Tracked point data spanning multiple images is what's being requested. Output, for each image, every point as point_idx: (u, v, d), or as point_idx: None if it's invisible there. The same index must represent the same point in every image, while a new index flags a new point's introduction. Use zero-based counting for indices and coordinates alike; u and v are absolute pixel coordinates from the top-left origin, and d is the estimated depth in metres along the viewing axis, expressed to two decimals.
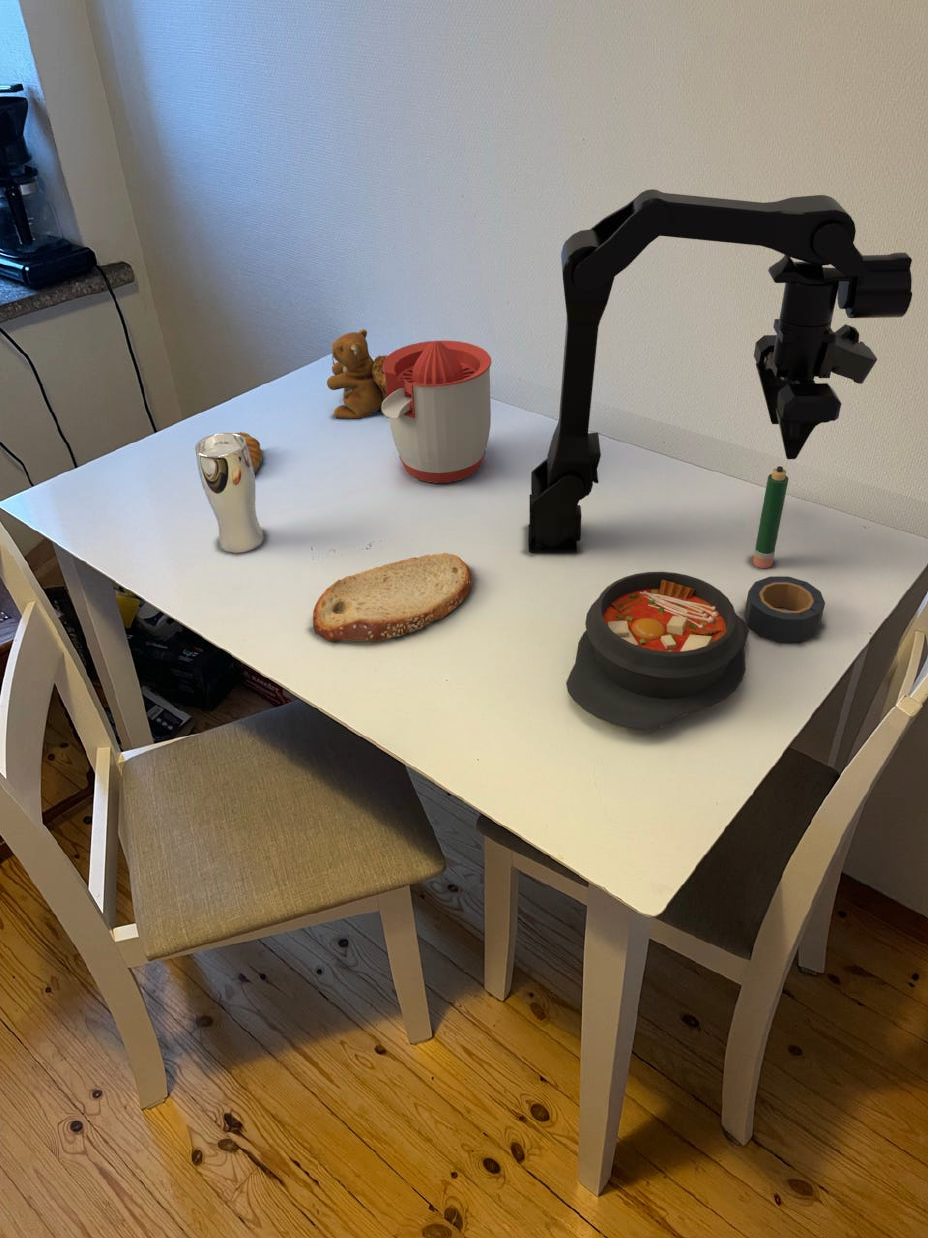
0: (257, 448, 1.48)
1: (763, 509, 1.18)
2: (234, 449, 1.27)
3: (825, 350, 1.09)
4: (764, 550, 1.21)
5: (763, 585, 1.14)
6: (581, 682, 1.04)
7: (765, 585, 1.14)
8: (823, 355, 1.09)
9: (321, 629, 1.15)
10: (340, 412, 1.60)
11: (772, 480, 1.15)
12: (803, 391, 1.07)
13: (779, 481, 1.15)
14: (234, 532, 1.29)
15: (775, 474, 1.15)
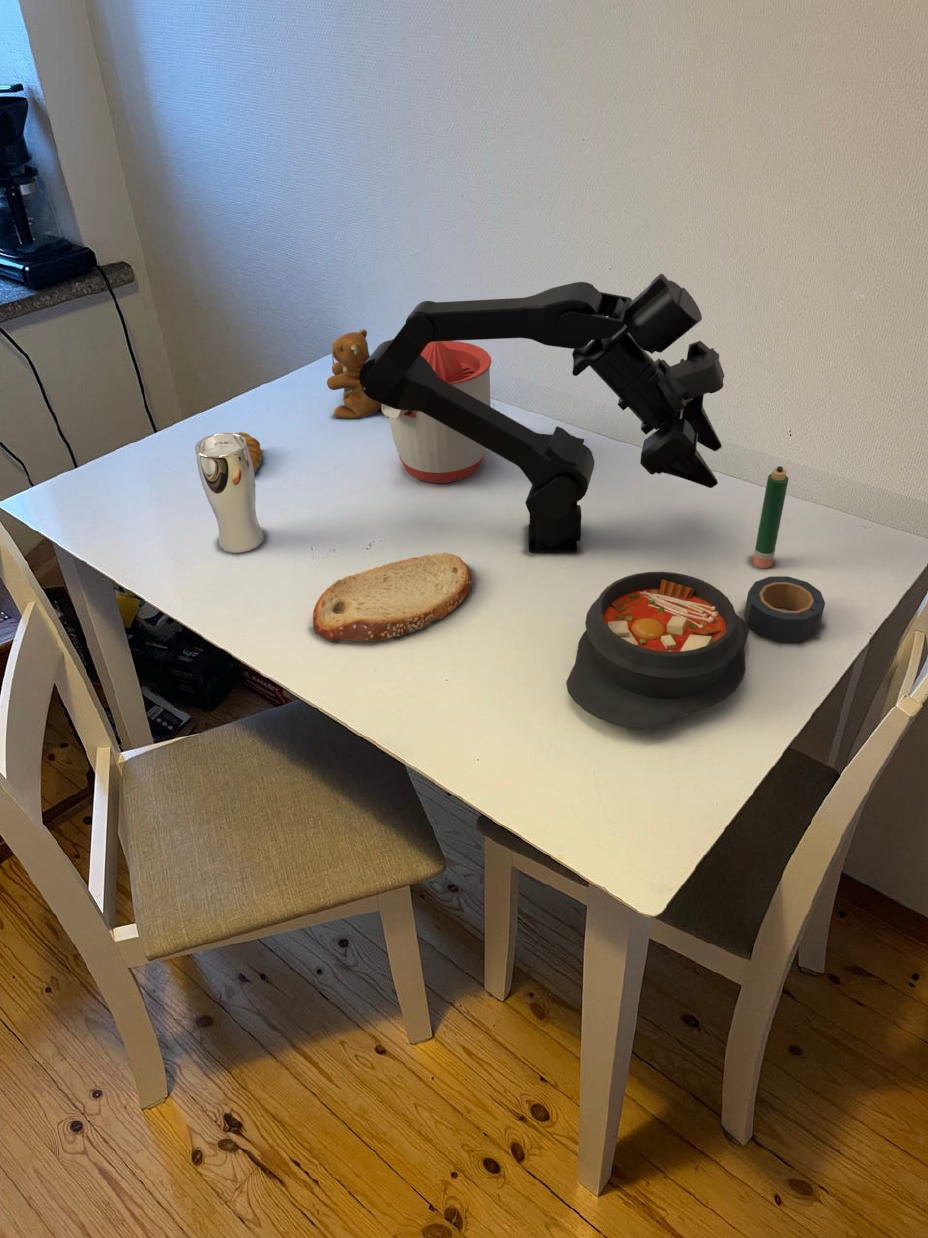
0: (257, 448, 1.48)
1: (763, 509, 1.18)
2: (234, 449, 1.27)
3: None
4: (764, 550, 1.21)
5: (763, 585, 1.14)
6: (581, 682, 1.04)
7: (765, 585, 1.14)
8: None
9: (321, 629, 1.15)
10: (340, 412, 1.60)
11: (772, 480, 1.15)
12: (650, 442, 1.09)
13: (779, 481, 1.15)
14: (234, 532, 1.29)
15: (775, 474, 1.15)
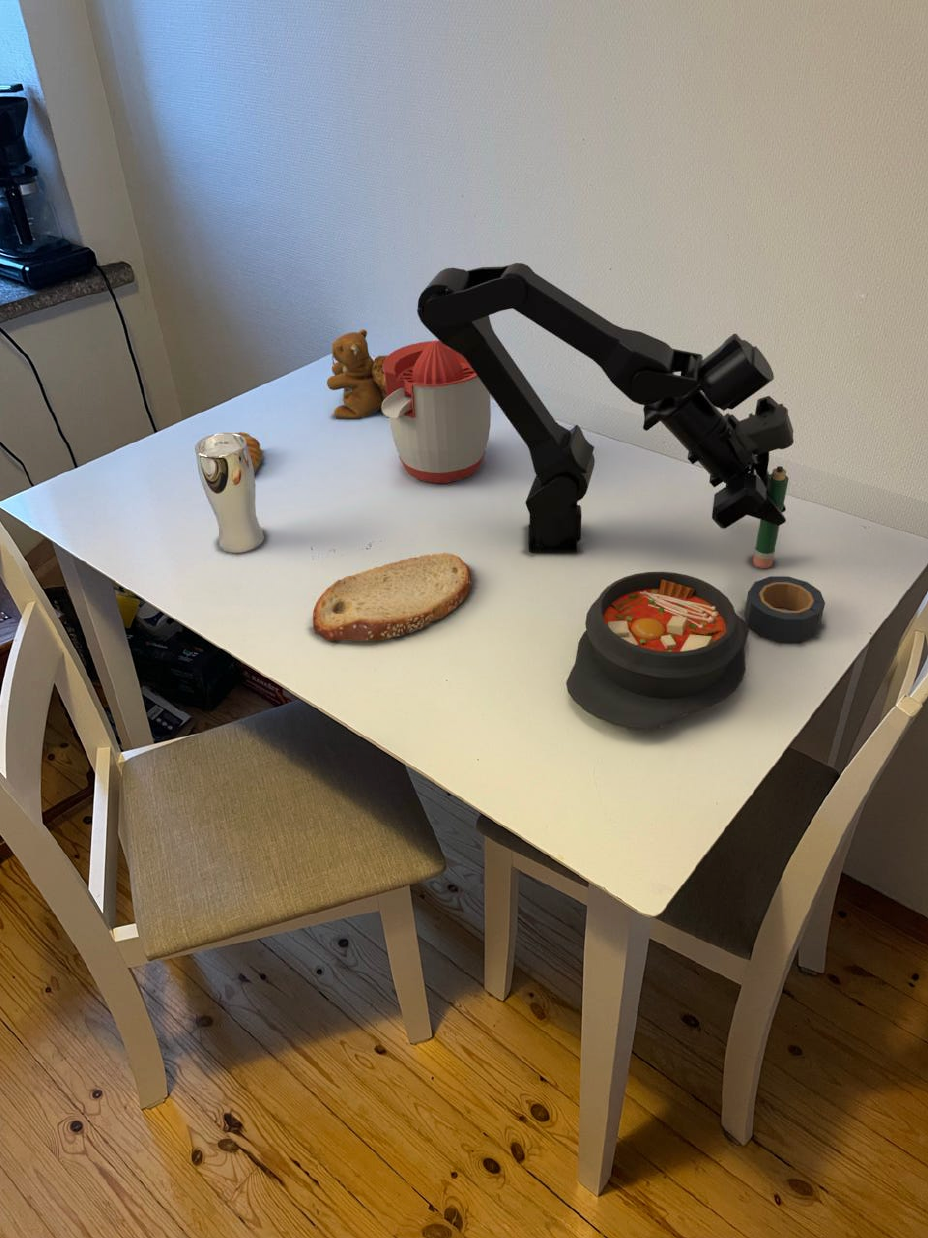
0: (257, 448, 1.48)
1: None
2: (234, 449, 1.27)
3: None
4: (764, 550, 1.21)
5: (763, 585, 1.14)
6: (581, 682, 1.04)
7: (765, 585, 1.14)
8: None
9: (321, 629, 1.15)
10: (340, 412, 1.60)
11: (772, 480, 1.15)
12: (722, 497, 1.11)
13: (779, 481, 1.15)
14: (234, 532, 1.29)
15: (775, 474, 1.15)
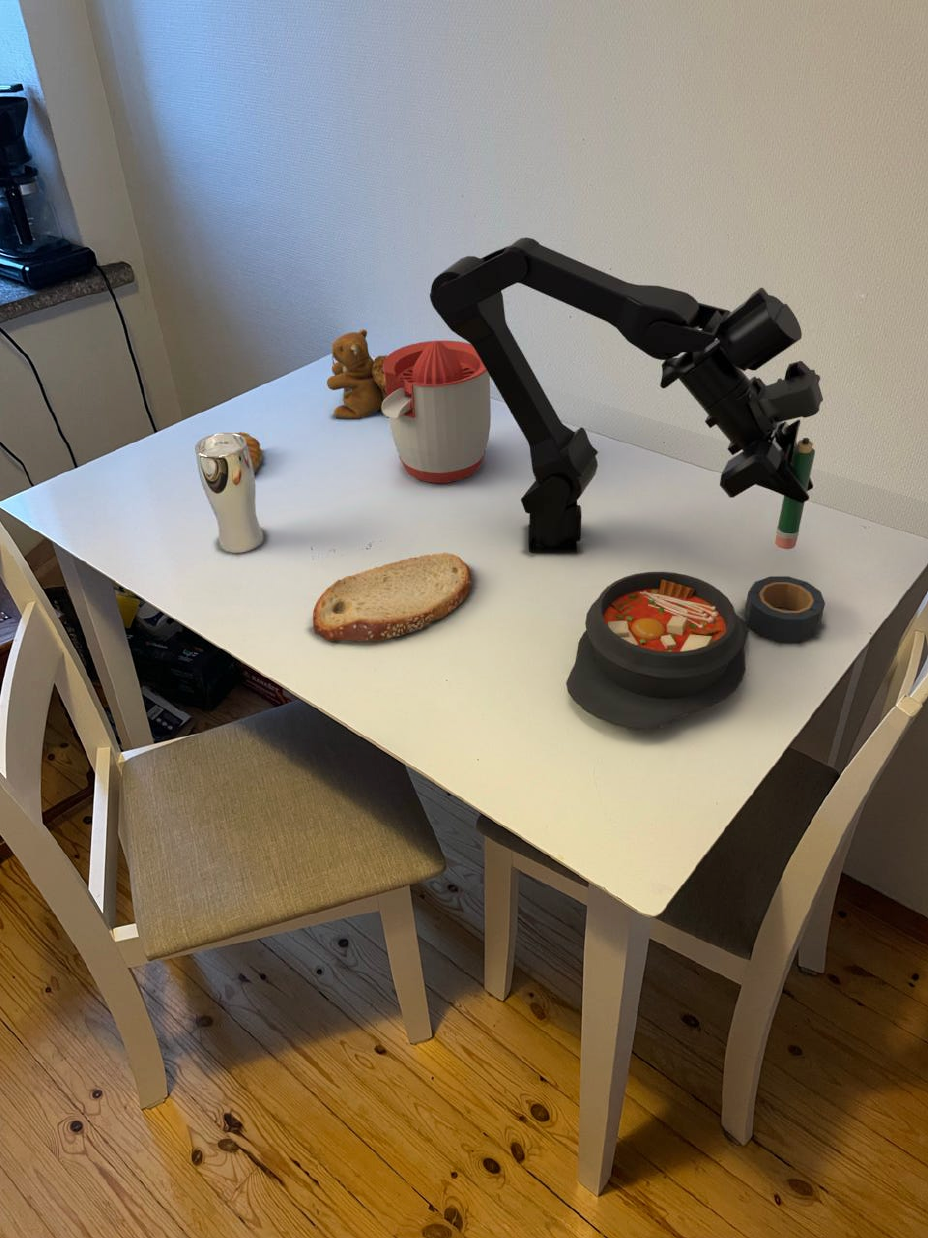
0: (257, 448, 1.48)
1: None
2: (234, 449, 1.27)
3: None
4: (786, 529, 1.13)
5: (763, 585, 1.14)
6: (581, 682, 1.04)
7: (765, 585, 1.14)
8: None
9: (321, 629, 1.15)
10: (340, 412, 1.60)
11: (796, 452, 1.07)
12: (733, 463, 1.04)
13: (803, 454, 1.07)
14: (234, 532, 1.29)
15: (800, 446, 1.06)
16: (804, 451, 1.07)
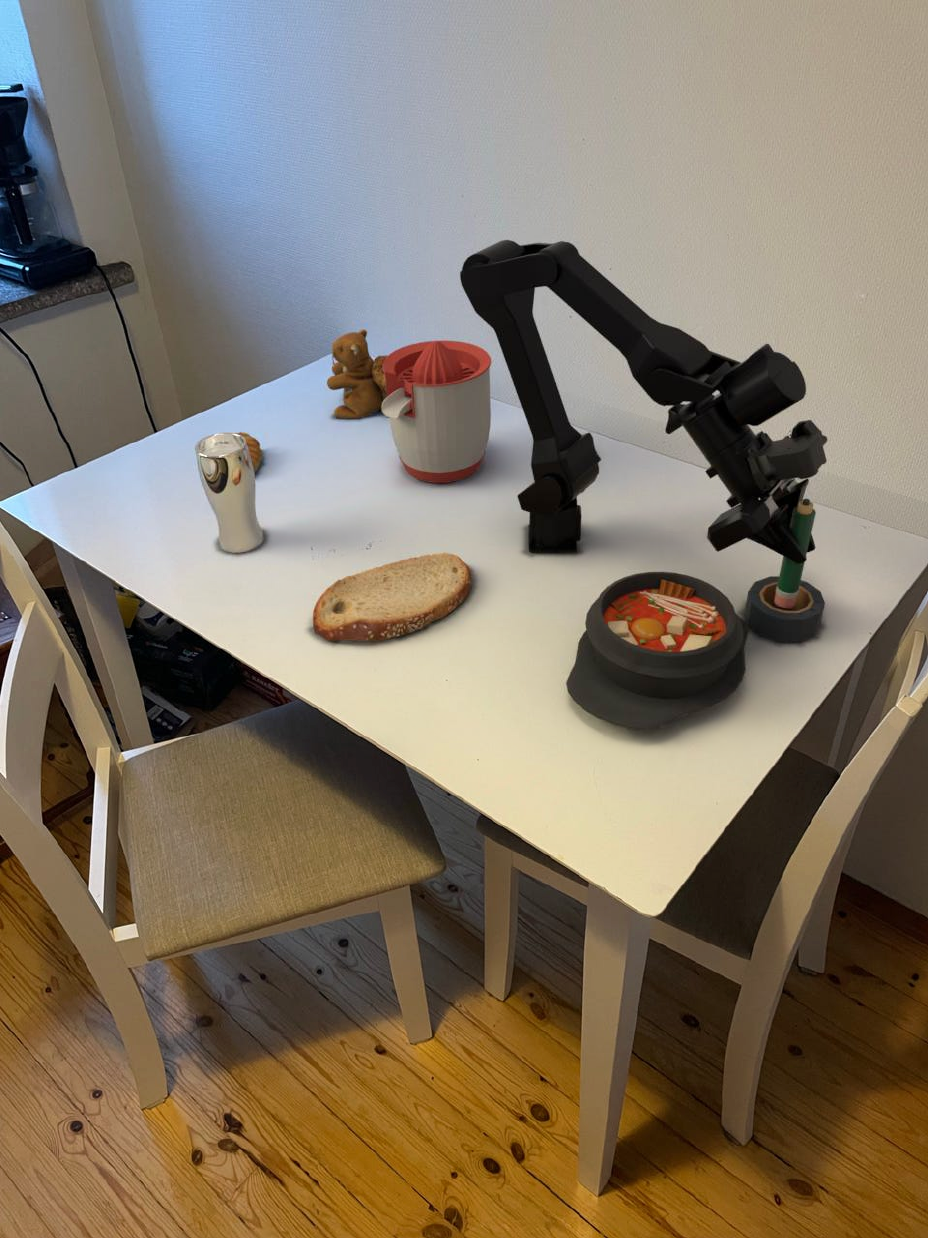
0: (257, 448, 1.48)
1: None
2: (234, 449, 1.27)
3: None
4: (783, 588, 1.10)
5: (763, 585, 1.14)
6: (581, 682, 1.04)
7: (765, 585, 1.14)
8: None
9: (321, 629, 1.15)
10: (340, 412, 1.60)
11: (795, 512, 1.05)
12: (721, 518, 1.03)
13: (802, 515, 1.04)
14: (234, 532, 1.29)
15: (799, 506, 1.04)
16: (803, 512, 1.04)
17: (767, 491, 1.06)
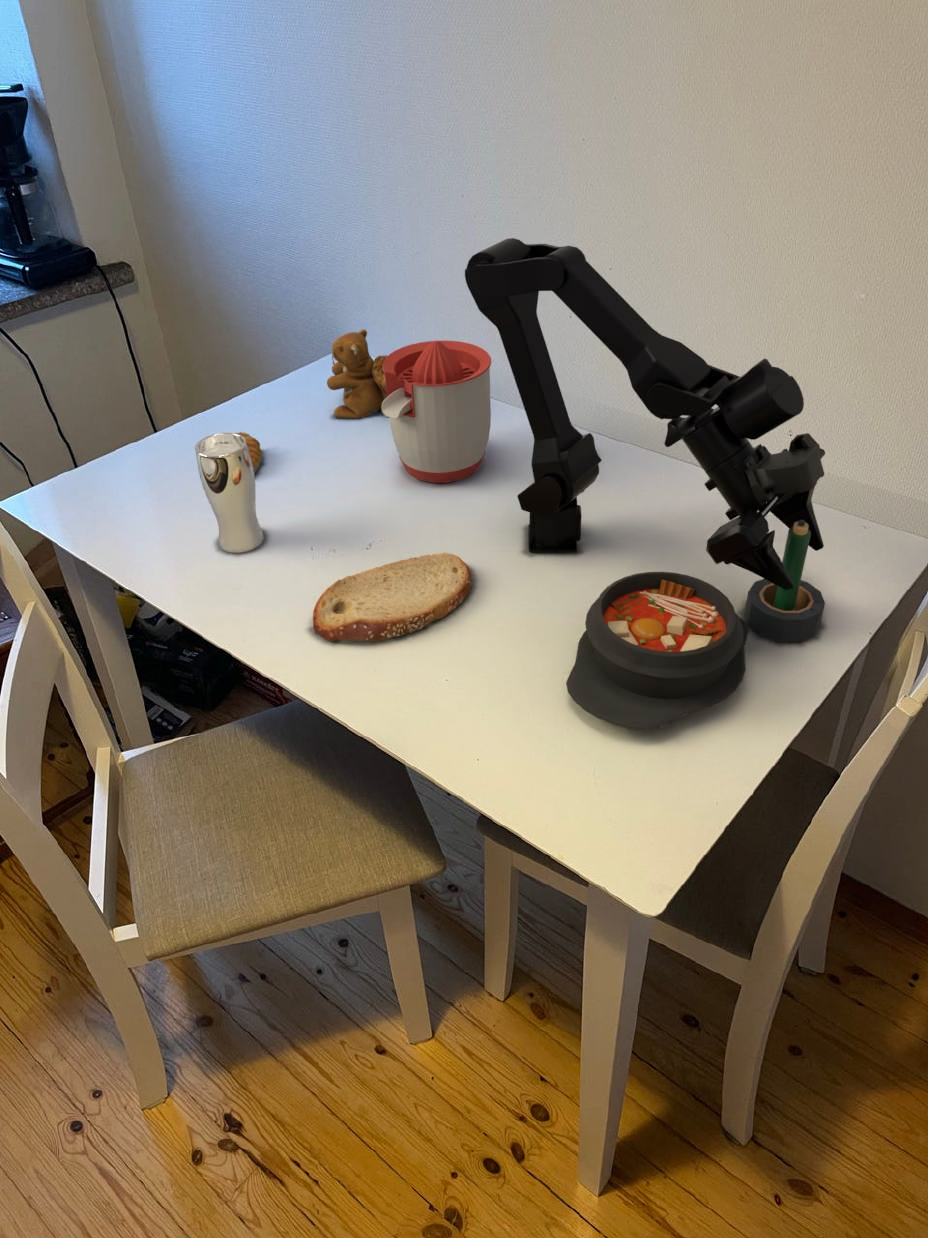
0: (257, 448, 1.48)
1: (782, 562, 1.09)
2: (234, 449, 1.27)
3: None
4: (780, 607, 1.12)
5: (763, 585, 1.14)
6: (581, 682, 1.04)
7: (765, 585, 1.14)
8: None
9: (321, 629, 1.15)
10: (340, 412, 1.60)
11: (791, 533, 1.06)
12: (720, 530, 1.03)
13: (797, 535, 1.06)
14: (234, 532, 1.29)
15: (794, 527, 1.06)
16: (798, 533, 1.06)
17: None
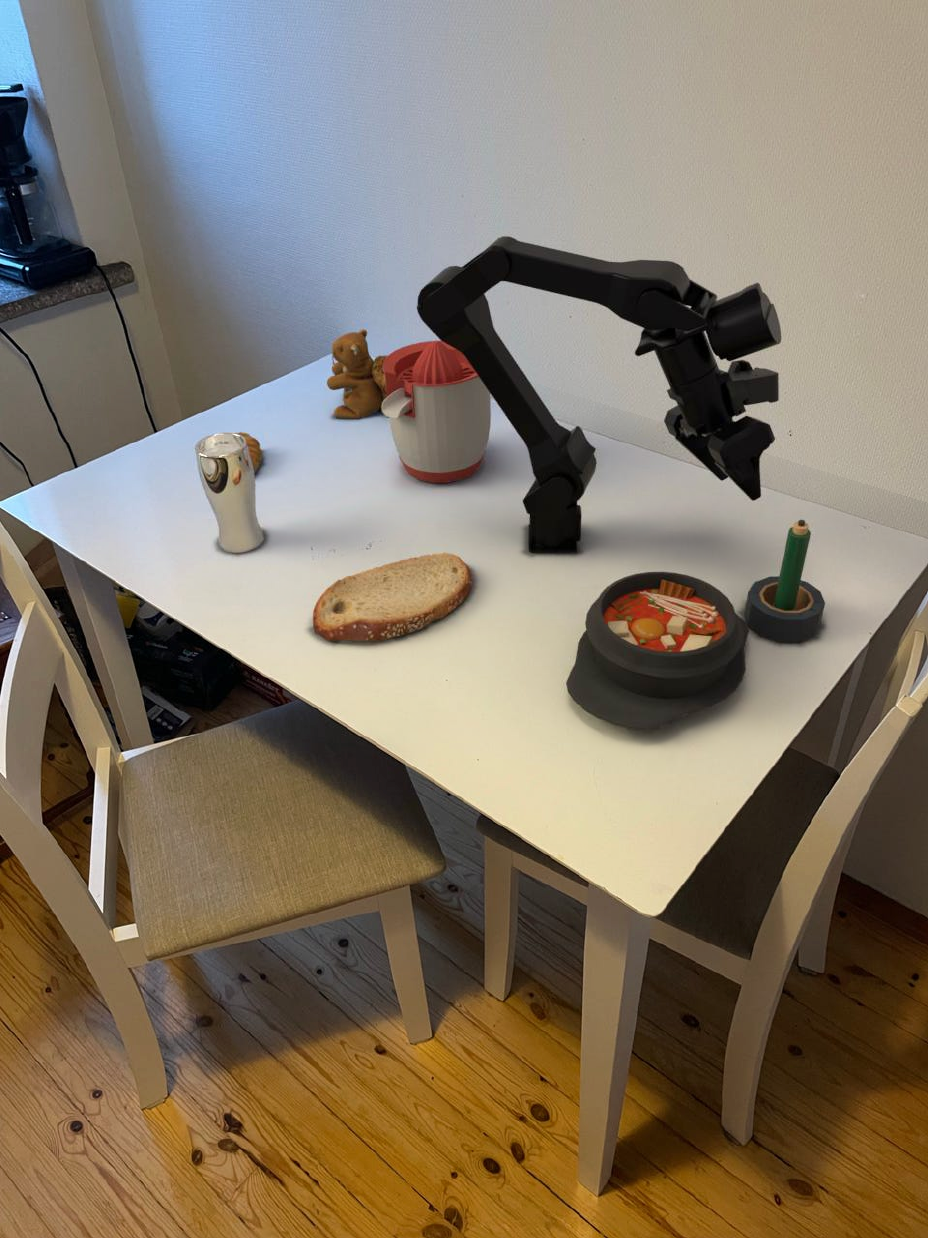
0: (257, 448, 1.48)
1: (782, 562, 1.09)
2: (234, 449, 1.27)
3: (727, 390, 1.08)
4: (780, 607, 1.12)
5: (763, 585, 1.14)
6: (581, 682, 1.04)
7: (765, 585, 1.14)
8: (728, 395, 1.08)
9: (321, 629, 1.15)
10: (340, 412, 1.60)
11: (791, 533, 1.06)
12: (729, 433, 1.04)
13: (797, 535, 1.06)
14: (234, 532, 1.29)
15: (794, 527, 1.06)
16: (798, 533, 1.06)
17: None
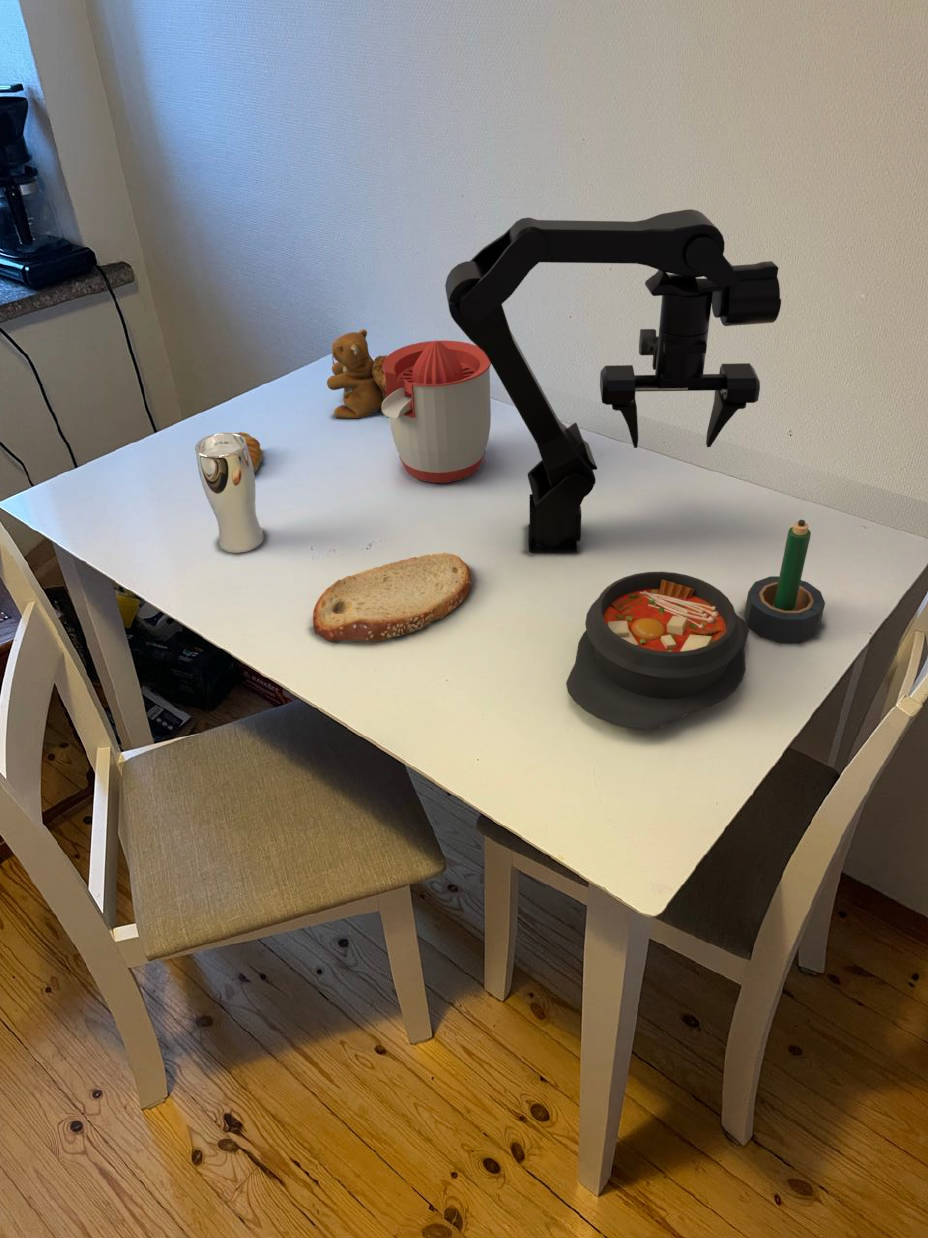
0: (257, 448, 1.48)
1: (782, 562, 1.09)
2: (234, 449, 1.27)
3: None
4: (780, 607, 1.12)
5: (763, 585, 1.14)
6: (581, 682, 1.04)
7: (765, 585, 1.14)
8: None
9: (321, 629, 1.15)
10: (340, 412, 1.60)
11: (791, 533, 1.06)
12: (743, 374, 1.15)
13: (797, 535, 1.06)
14: (234, 532, 1.29)
15: (794, 527, 1.06)
16: (798, 533, 1.06)
17: None
